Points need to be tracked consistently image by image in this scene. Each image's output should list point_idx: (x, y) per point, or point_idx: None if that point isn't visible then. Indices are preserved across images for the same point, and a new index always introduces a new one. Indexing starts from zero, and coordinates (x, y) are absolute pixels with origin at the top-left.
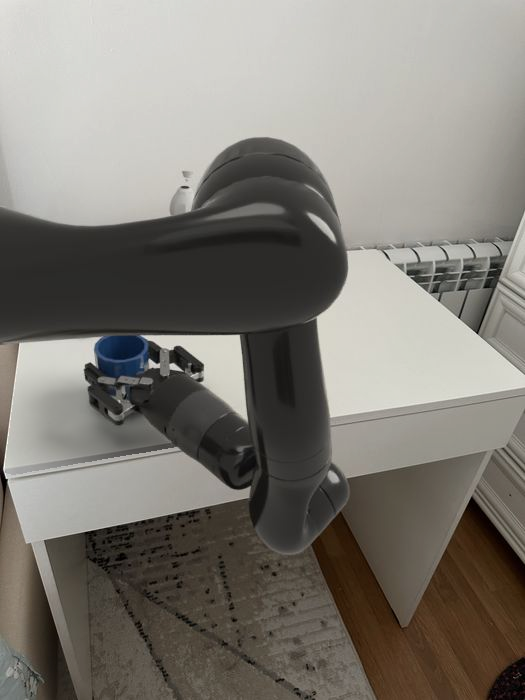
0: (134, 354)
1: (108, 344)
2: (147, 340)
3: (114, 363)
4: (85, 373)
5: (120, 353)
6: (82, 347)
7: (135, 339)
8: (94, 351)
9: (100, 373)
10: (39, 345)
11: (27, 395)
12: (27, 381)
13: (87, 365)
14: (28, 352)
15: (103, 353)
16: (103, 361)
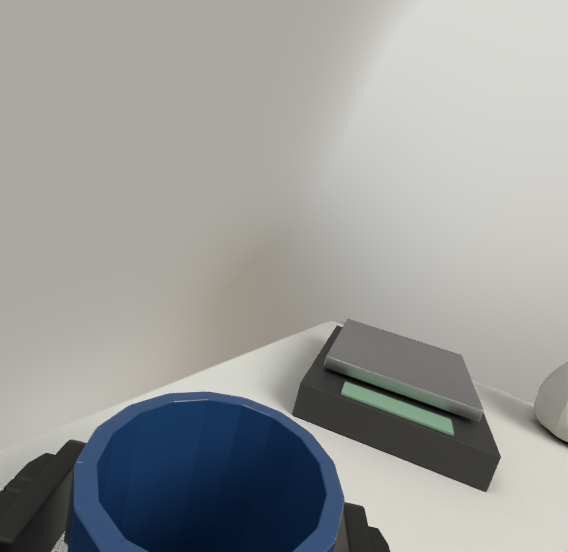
0: (288, 541)
1: (223, 433)
2: (364, 521)
3: (73, 518)
4: (23, 473)
5: (253, 497)
6: None
7: (313, 479)
8: (120, 411)
9: (14, 518)
10: (211, 386)
11: (48, 446)
12: (99, 422)
13: (62, 447)
14: (182, 384)
15: (188, 453)
16: (73, 470)
